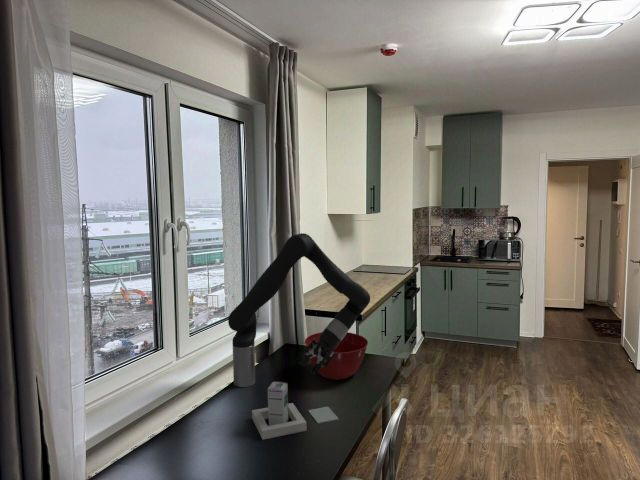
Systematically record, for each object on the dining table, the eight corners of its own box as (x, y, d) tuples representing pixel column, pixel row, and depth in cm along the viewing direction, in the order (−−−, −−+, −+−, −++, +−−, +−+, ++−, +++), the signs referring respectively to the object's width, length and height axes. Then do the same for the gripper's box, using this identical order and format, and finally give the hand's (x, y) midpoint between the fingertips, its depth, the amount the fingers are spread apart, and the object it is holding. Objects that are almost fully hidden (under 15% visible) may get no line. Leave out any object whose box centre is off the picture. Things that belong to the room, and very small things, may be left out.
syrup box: (284, 429, 157) (283, 389, 155) (268, 427, 158) (267, 387, 156) (288, 421, 162) (288, 382, 161) (273, 419, 163) (272, 381, 162)
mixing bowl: (378, 369, 208) (378, 337, 207) (348, 393, 184) (348, 356, 183) (326, 358, 223) (326, 327, 222) (292, 378, 200) (292, 344, 198)
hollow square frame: (252, 418, 164) (251, 410, 164) (292, 410, 170) (292, 402, 170) (262, 439, 150) (262, 431, 150) (306, 430, 156) (306, 422, 155)
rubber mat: (308, 411, 169) (308, 410, 169) (328, 407, 172) (328, 406, 172) (317, 423, 160) (317, 422, 160) (338, 419, 163) (338, 418, 163)
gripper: (318, 323, 172) (291, 357, 168) (337, 333, 160) (308, 370, 156) (330, 334, 175) (304, 368, 171) (350, 345, 163) (322, 382, 159)
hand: (306, 369), depth 163 cm, fingers open, 8 cm apart
